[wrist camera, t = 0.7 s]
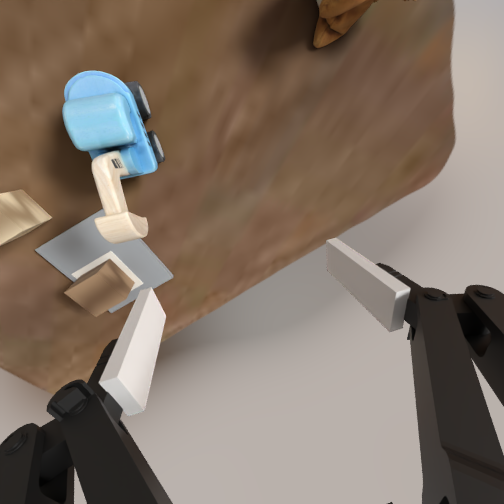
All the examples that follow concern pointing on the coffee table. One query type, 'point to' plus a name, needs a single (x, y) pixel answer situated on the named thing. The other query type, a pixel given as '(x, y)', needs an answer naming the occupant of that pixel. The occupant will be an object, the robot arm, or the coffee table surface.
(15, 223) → the maple block
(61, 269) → the pad
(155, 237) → the coffee table surface
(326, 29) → the stuffed squirrel
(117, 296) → the walnut block
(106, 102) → the toy excavator
